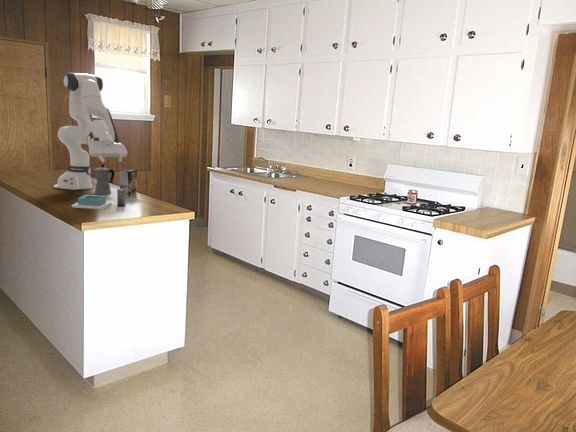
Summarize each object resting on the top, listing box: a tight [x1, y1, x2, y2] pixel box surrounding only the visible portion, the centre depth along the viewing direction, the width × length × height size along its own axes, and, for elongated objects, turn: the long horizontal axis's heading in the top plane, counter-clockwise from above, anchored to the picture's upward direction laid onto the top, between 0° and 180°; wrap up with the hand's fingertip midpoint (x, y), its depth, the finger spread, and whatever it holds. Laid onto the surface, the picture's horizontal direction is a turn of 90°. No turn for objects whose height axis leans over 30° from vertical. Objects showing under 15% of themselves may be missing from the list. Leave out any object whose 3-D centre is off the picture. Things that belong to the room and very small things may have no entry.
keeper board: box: [71, 194, 113, 210], centre depth 247 cm, size 16×14×5 cm
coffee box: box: [119, 169, 138, 199], centre depth 278 cm, size 9×6×16 cm
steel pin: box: [116, 188, 126, 208], centre depth 251 cm, size 4×4×9 cm
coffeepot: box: [93, 163, 116, 196], centre depth 281 cm, size 15×9×18 cm, turn 68°
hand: (112, 161), depth 256 cm, fingers open, 8 cm apart
